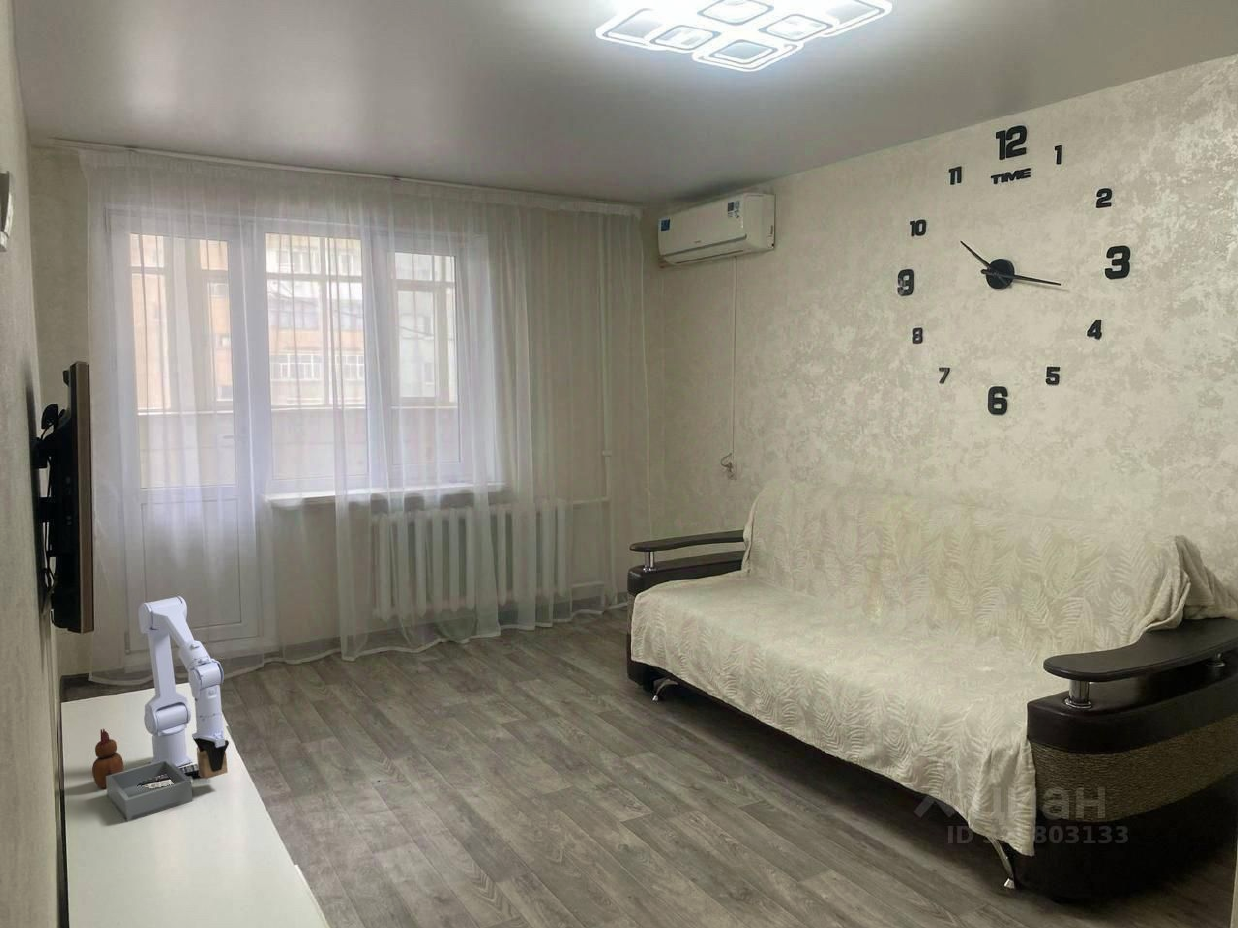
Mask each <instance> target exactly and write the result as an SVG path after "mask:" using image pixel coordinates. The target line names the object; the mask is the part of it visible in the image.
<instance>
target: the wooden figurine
mask: <svg viewBox="0 0 1238 928" xmlns="http://www.w3.org/2000/svg"><path fill="white" fill-rule="evenodd" d="M117 751H118V743H117V741H116V740H115V739H112V738H111V739H110V736H109V732H107V730H106V729H105V728H100V741H98V742H97V743H96V745H95V747H94V752H95V756H96V757H97V758H95V760H94V761H93V763H92V766H91V774H92V778H93V781H94V782H95V784H96V785H97V786H98V787H99V788H102V789H105V788H106V789H107V786H106V776H109V775H112V774H116V773H119V772H123V771H124V763H123V758H122V755H121V754H120V753H118V752H117Z"/></svg>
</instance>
